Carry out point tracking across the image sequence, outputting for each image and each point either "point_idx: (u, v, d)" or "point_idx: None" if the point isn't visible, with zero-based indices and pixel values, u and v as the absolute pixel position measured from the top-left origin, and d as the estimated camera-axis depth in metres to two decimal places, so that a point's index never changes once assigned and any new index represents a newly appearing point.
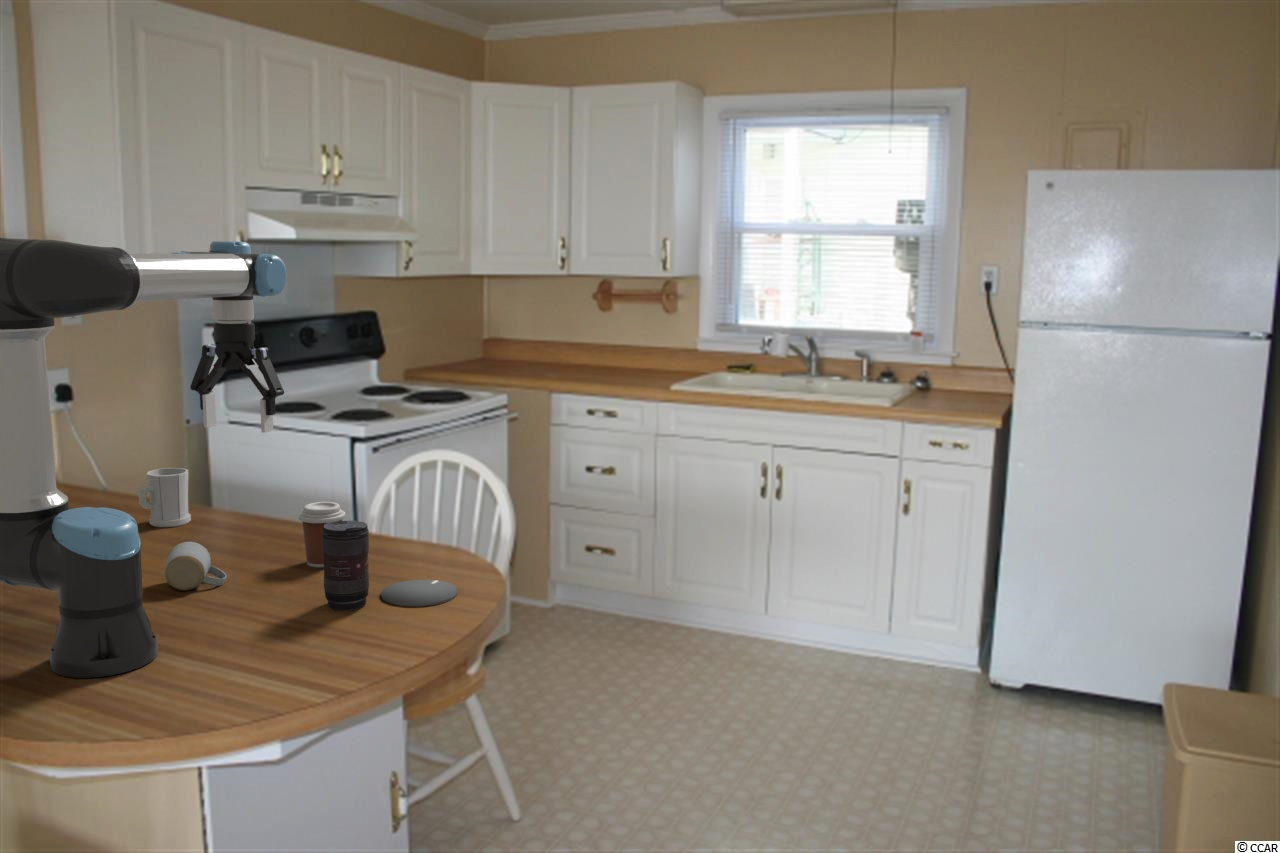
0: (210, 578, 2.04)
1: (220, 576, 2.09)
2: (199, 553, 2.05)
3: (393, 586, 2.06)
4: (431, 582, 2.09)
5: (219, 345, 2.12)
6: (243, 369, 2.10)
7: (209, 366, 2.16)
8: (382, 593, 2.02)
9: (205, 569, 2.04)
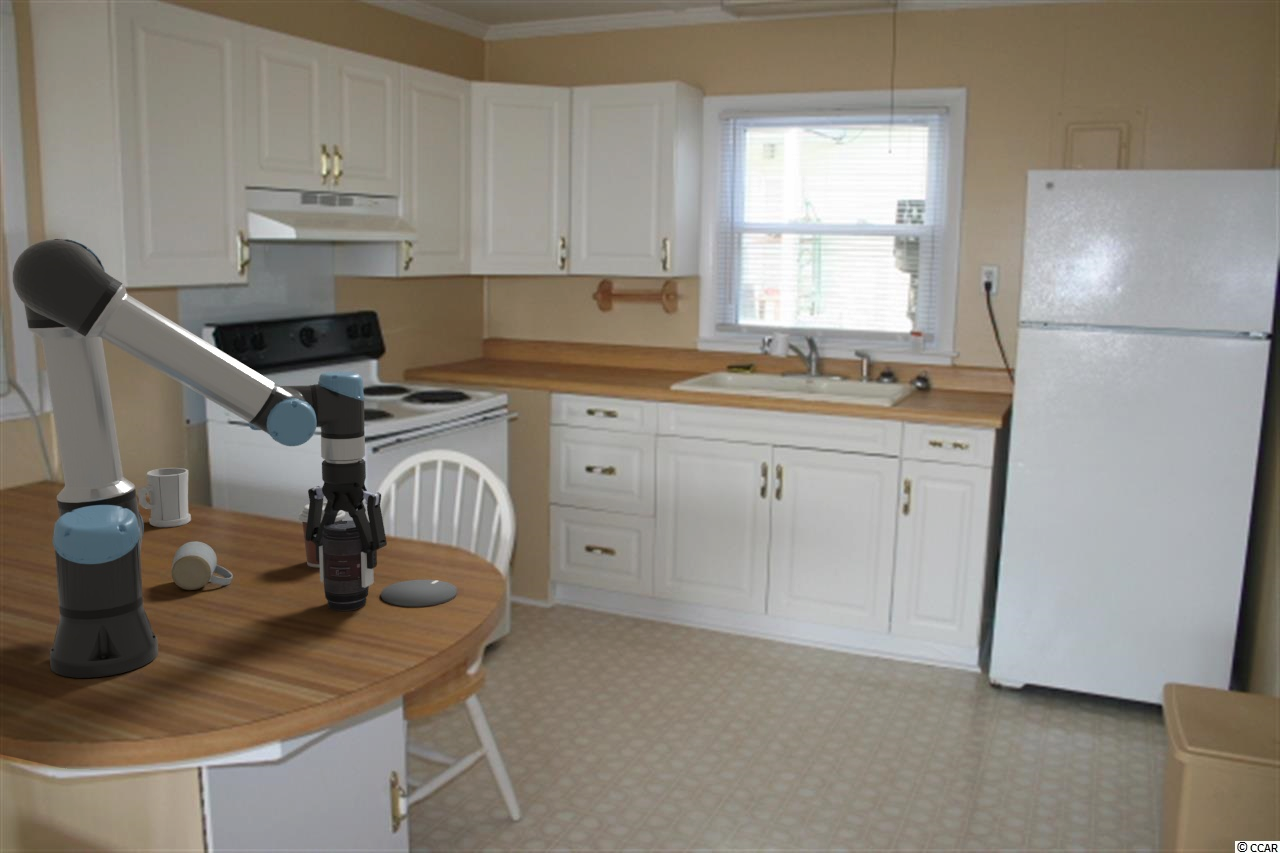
0: (216, 577, 2.04)
1: (226, 576, 2.09)
2: (205, 553, 2.05)
3: (393, 586, 2.06)
4: (431, 582, 2.09)
5: (327, 484, 1.93)
6: (354, 512, 1.92)
7: (320, 510, 1.97)
8: (382, 593, 2.02)
9: (211, 569, 2.04)
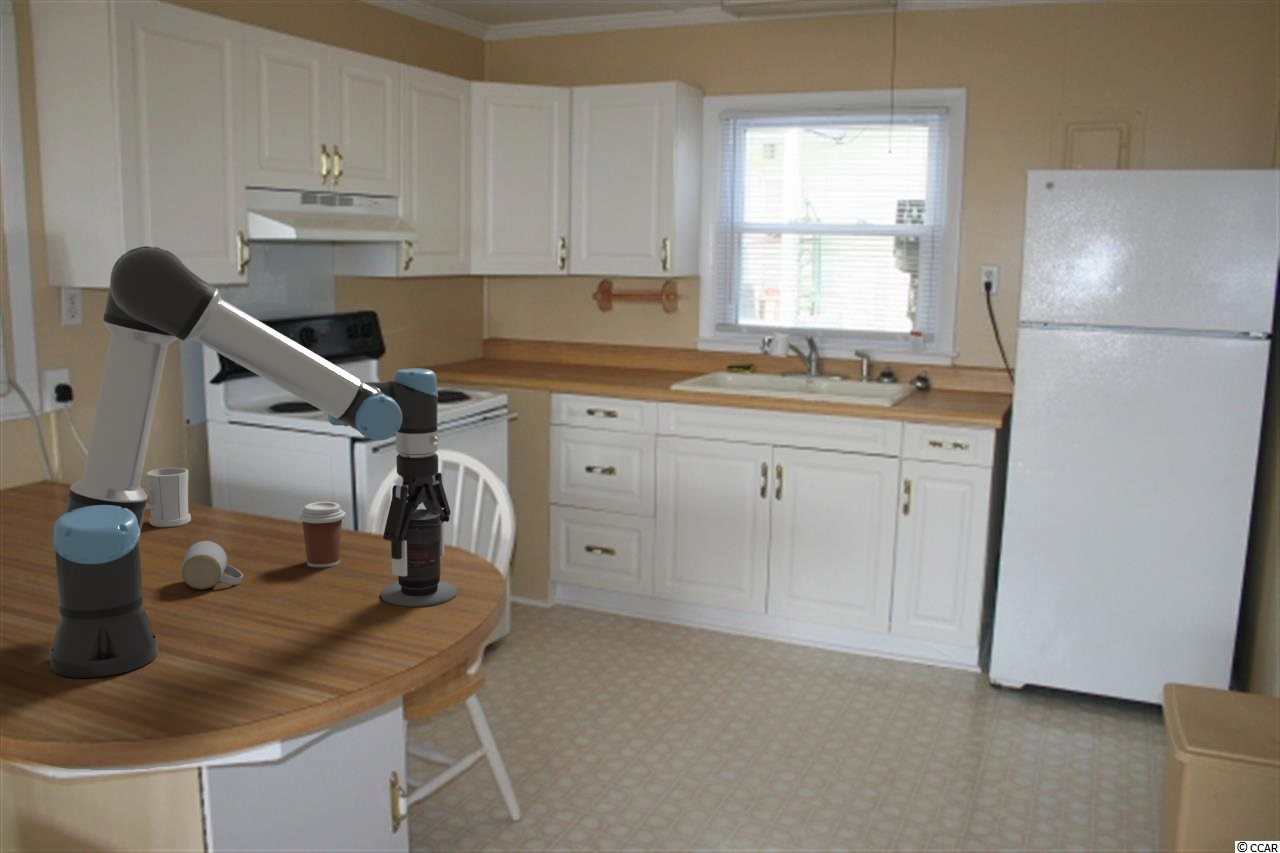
0: (227, 577, 2.05)
1: (236, 575, 2.10)
2: (215, 552, 2.05)
3: (393, 586, 2.06)
4: None
5: None
6: None
7: (438, 494, 2.07)
8: (382, 593, 2.02)
9: (222, 568, 2.05)
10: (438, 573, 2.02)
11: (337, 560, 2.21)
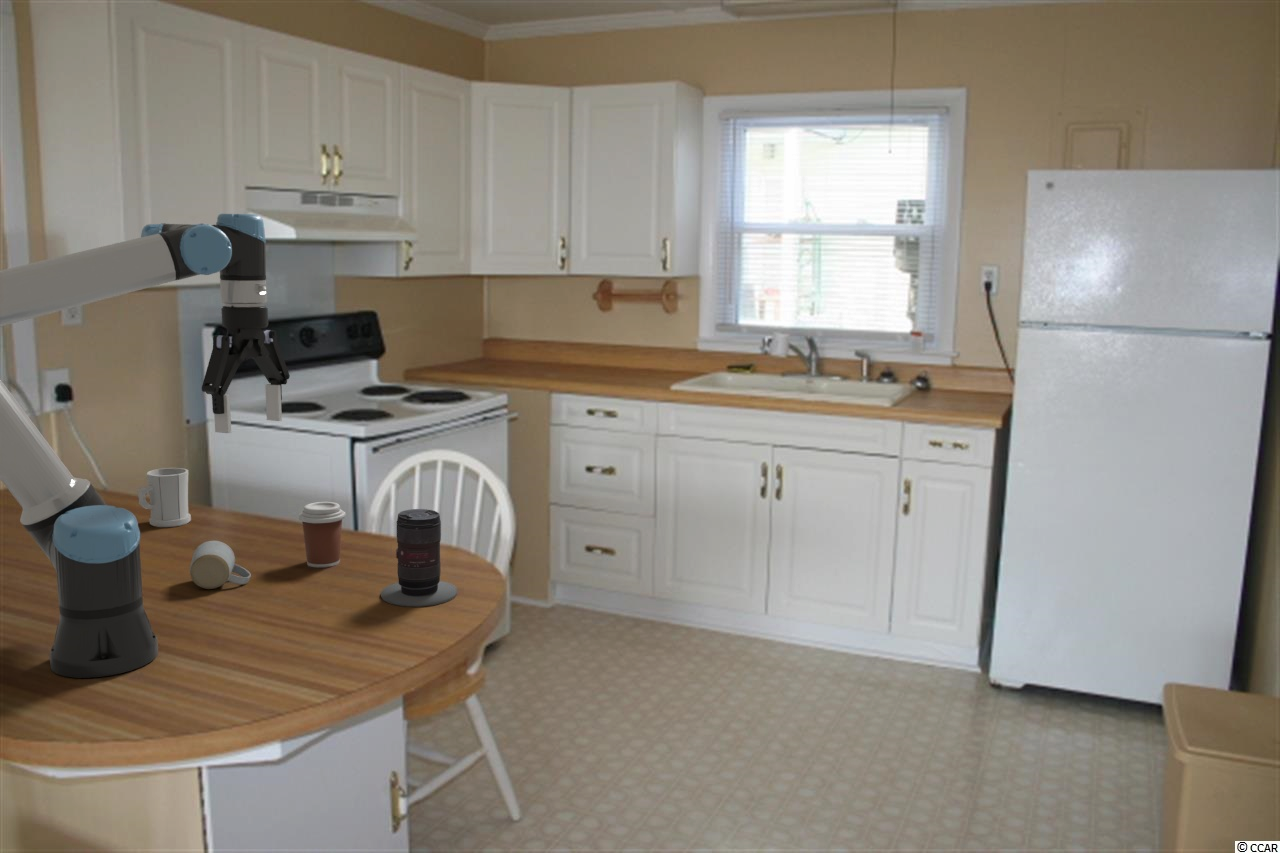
0: (235, 576, 2.05)
1: (244, 575, 2.10)
2: (223, 552, 2.06)
3: (393, 586, 2.06)
4: None
5: None
6: None
7: (274, 354, 1.95)
8: (382, 593, 2.02)
9: (230, 568, 2.05)
10: (438, 573, 2.02)
11: (337, 560, 2.21)
